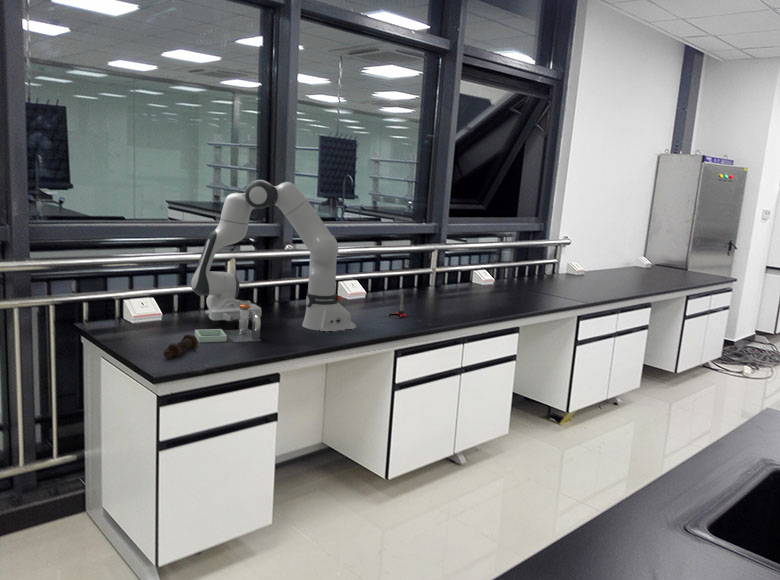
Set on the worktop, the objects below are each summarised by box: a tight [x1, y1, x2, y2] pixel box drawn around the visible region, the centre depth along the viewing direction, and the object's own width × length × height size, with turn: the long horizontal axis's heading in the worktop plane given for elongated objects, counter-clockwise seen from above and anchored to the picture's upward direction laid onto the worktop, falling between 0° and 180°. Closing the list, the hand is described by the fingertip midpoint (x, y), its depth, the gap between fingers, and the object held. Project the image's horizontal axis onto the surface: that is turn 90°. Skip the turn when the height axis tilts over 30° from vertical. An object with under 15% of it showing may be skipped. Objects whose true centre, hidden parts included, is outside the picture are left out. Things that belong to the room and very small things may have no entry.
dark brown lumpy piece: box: [162, 334, 199, 359], centre depth 208 cm, size 6×5×15 cm
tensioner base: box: [223, 315, 262, 343], centre depth 233 cm, size 10×16×10 cm, turn 26°
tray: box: [194, 328, 228, 344], centre depth 226 cm, size 10×10×3 cm
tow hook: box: [395, 288, 408, 316], centre depth 289 cm, size 8×13×9 cm
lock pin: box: [238, 304, 250, 334], centre depth 235 cm, size 4×4×11 cm
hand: (243, 317), depth 236 cm, fingers open, 8 cm apart
